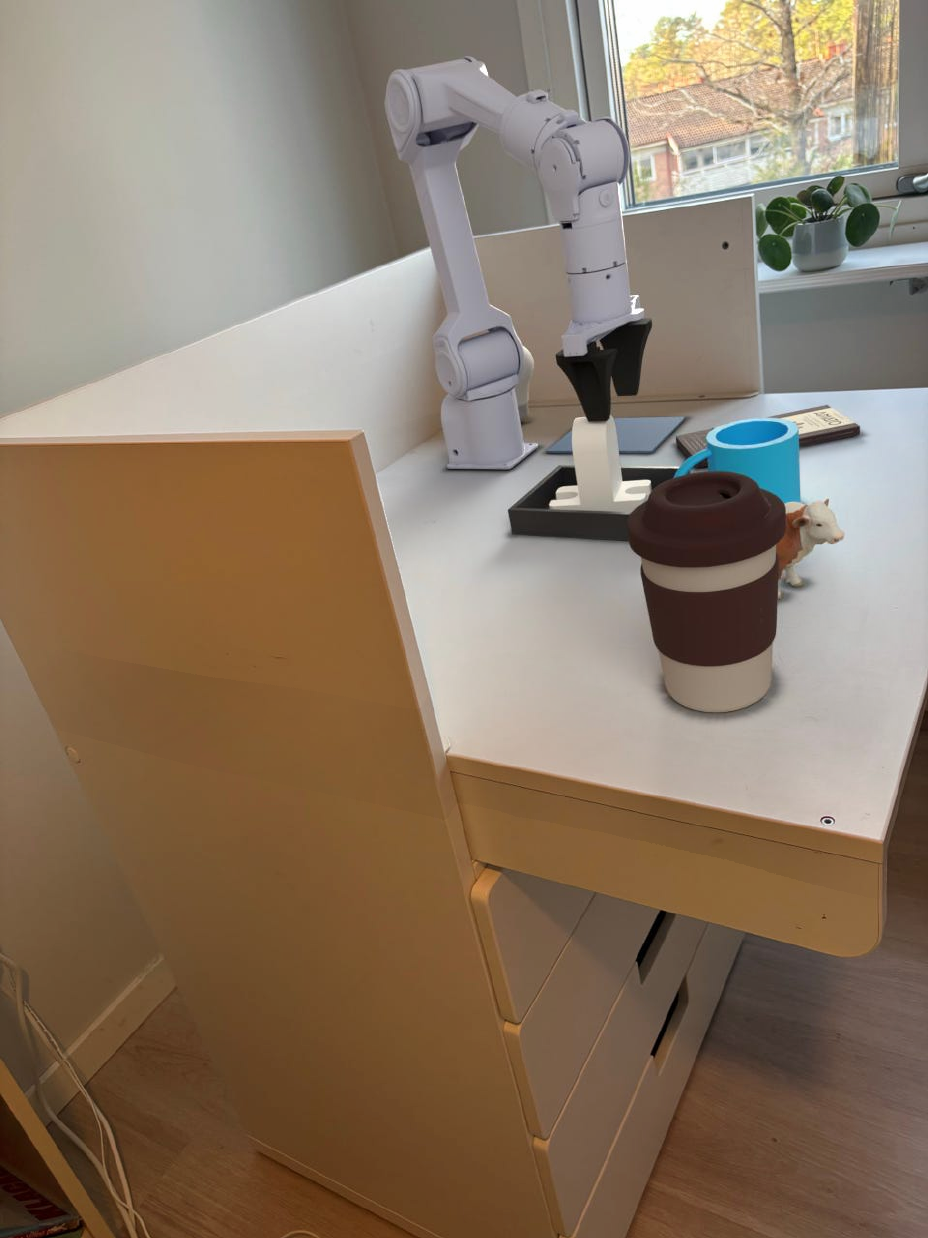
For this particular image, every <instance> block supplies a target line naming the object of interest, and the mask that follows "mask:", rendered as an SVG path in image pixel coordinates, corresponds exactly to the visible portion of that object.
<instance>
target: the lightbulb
mask: <svg viewBox="0 0 928 1238" xmlns="http://www.w3.org/2000/svg"><path fill="white" fill-rule="evenodd" d="M522 346H523V349H524V355H525V361H524V368H523V371H522V373H521V374H520V375H519V376H518V380H519V384H516V385H514V388H515V394H516V399H517V405H518V411H519V417H520V423H523V422H525V420H526V419H527V418H528V417H529V416H530V411H529V400H530V398H529V397H530V396H529V388H530V383H531V380H532V376H533V374H534V369H535V361H534V358H533V355H532V353H531V352H530V350H528V349H527V347H525V346H524V345H522Z"/></svg>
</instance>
